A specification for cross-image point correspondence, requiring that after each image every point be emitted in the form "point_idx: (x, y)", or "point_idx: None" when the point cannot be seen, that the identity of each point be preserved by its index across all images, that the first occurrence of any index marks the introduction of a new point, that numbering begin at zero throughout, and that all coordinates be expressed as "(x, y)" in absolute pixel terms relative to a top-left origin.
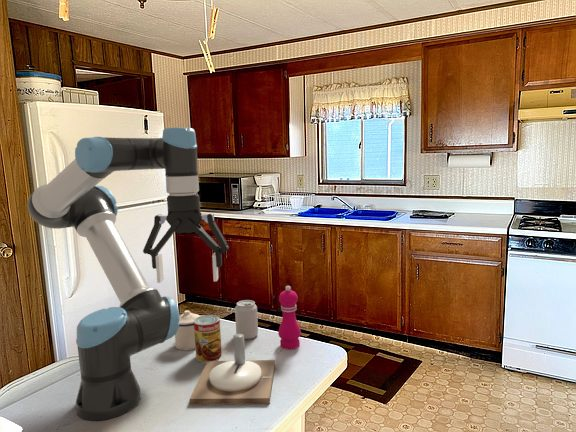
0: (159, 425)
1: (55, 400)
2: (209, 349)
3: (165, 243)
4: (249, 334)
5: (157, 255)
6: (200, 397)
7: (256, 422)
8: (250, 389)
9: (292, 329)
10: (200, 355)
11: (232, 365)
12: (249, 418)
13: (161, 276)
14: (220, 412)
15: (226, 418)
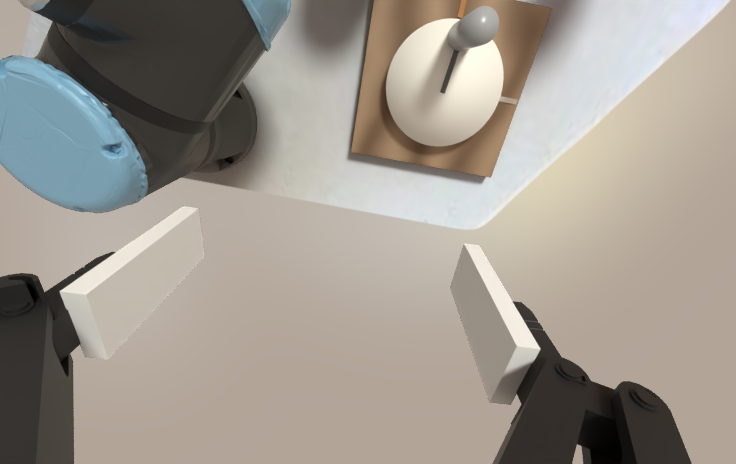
0: (312, 197)
1: None
2: None
3: (44, 388)
4: None
5: (80, 333)
6: (370, 150)
7: (455, 217)
8: (463, 141)
9: None
10: None
11: (441, 48)
12: (447, 206)
13: (189, 249)
14: (403, 182)
15: (412, 199)
